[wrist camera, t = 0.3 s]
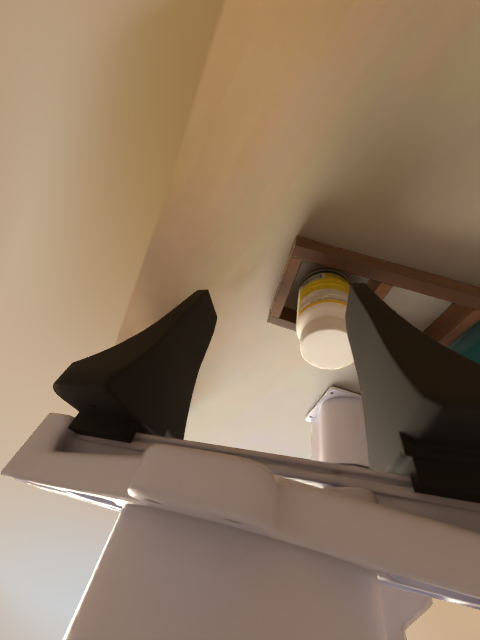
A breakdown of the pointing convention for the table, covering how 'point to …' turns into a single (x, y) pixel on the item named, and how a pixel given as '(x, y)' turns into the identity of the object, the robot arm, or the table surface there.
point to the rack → (381, 287)
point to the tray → (468, 343)
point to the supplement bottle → (324, 319)
